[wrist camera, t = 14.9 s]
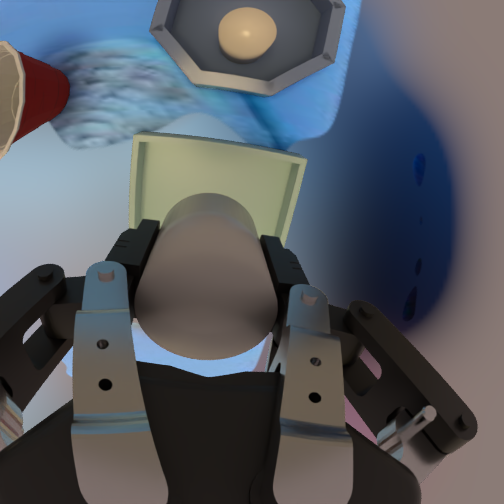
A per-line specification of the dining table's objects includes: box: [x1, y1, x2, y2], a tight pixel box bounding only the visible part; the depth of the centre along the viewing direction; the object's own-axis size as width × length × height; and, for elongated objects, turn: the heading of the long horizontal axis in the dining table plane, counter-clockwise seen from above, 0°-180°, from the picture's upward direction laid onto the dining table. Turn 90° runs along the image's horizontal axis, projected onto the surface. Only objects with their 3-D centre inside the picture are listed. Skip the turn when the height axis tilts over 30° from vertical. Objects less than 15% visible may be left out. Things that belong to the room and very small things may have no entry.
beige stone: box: [219, 7, 277, 64], centre depth 18 cm, size 4×4×5 cm
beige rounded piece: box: [134, 193, 278, 360], centre depth 10 cm, size 4×4×5 cm
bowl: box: [149, 0, 346, 97], centre depth 17 cm, size 16×16×4 cm
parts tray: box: [129, 131, 307, 248], centre depth 28 cm, size 16×16×3 cm
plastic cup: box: [0, 41, 70, 159], centre depth 14 cm, size 11×11×12 cm
